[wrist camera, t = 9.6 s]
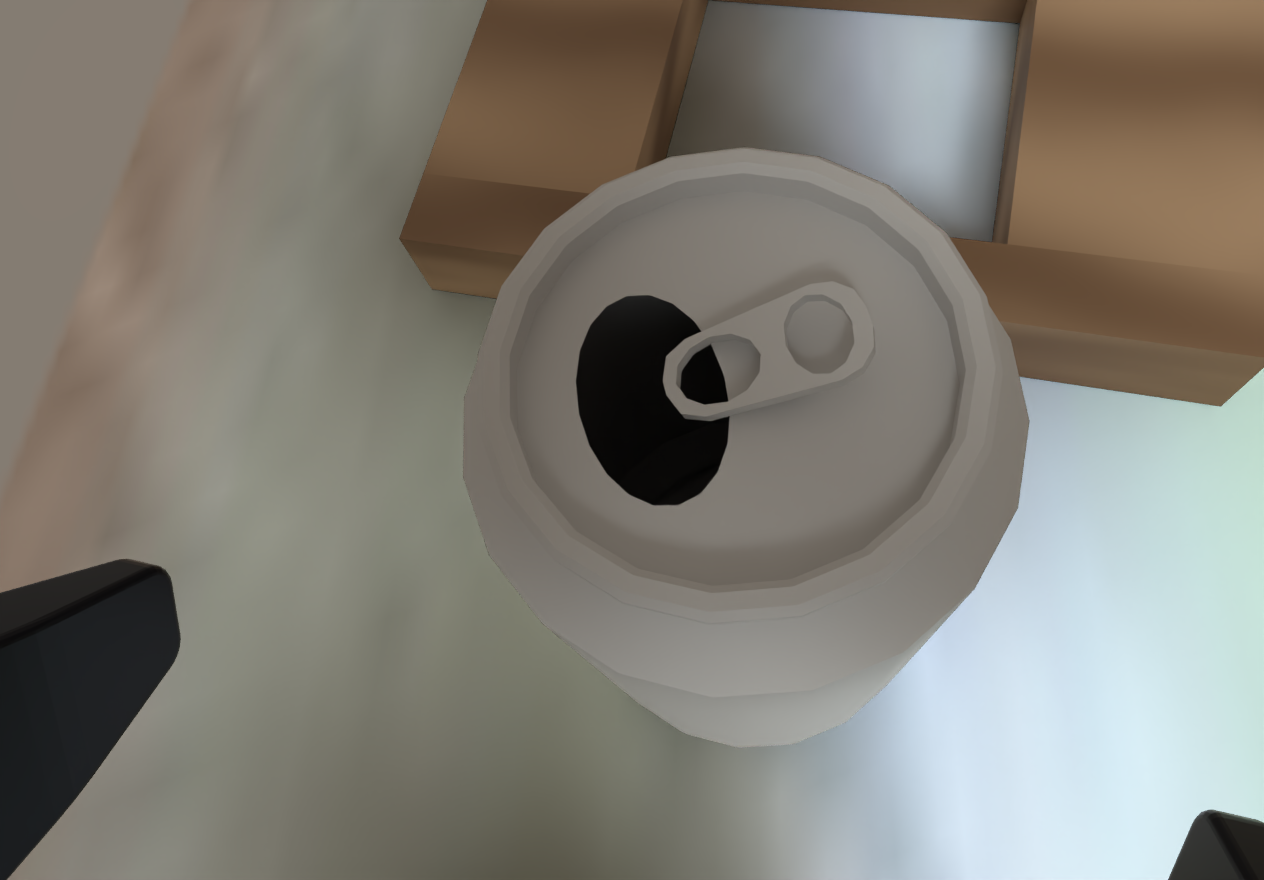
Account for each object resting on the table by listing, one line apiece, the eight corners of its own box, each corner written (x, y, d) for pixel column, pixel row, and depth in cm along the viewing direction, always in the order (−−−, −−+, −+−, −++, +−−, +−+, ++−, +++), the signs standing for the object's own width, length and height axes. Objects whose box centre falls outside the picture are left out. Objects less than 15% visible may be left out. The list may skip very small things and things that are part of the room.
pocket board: (1221, 406, 22) (1273, 359, 20) (431, 289, 26) (399, 238, 24) (1235, -58, 27) (1279, -139, 25) (565, -95, 31) (549, -167, 29)
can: (565, 474, 24) (385, 178, 13) (858, 401, 23) (937, 31, 12) (626, 785, 21) (464, 754, 10) (962, 707, 21) (1185, 582, 9)
